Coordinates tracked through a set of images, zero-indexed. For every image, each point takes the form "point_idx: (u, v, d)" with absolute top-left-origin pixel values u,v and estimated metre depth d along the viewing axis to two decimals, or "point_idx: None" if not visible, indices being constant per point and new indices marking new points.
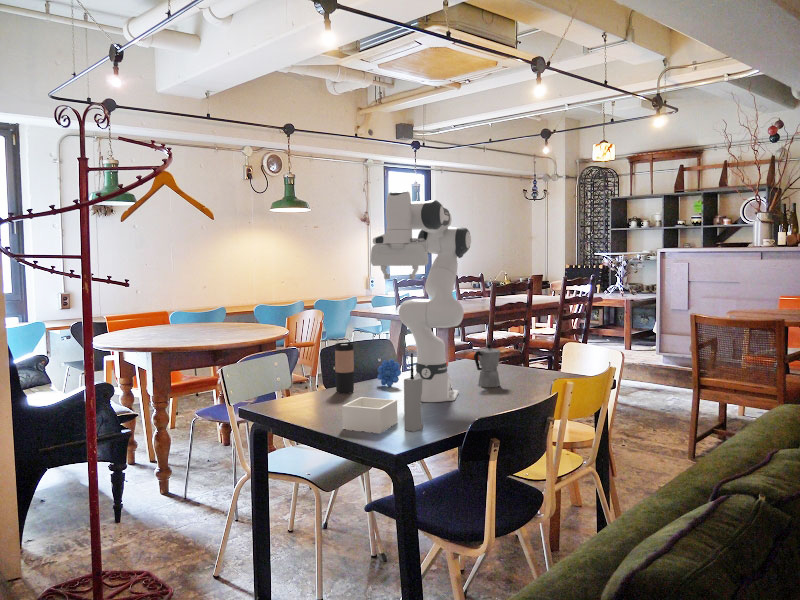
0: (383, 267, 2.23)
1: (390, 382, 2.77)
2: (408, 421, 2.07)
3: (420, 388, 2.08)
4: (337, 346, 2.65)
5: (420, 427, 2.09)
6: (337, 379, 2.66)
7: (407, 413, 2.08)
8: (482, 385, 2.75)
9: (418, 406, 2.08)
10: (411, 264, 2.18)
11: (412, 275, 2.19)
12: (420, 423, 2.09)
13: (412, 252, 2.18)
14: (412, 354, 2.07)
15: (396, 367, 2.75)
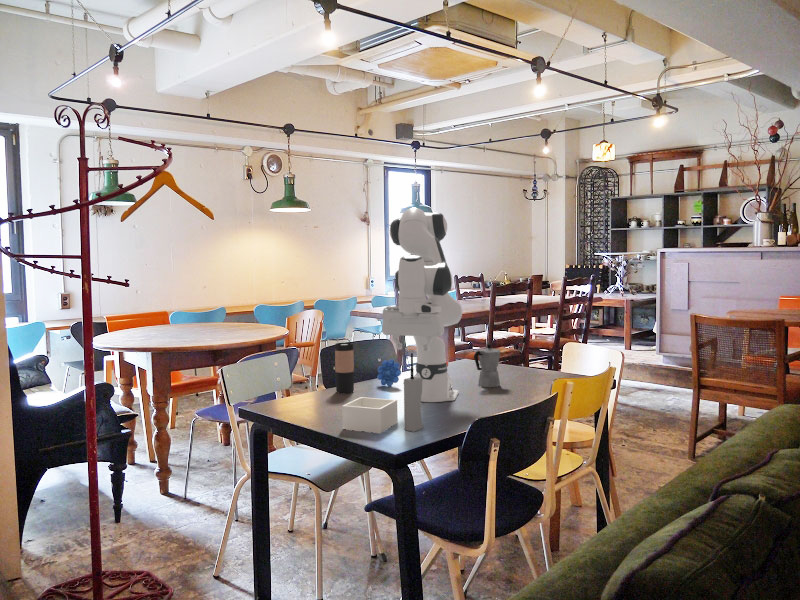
0: None
1: (390, 382, 2.77)
2: (408, 421, 2.07)
3: (420, 388, 2.08)
4: (337, 346, 2.65)
5: (420, 427, 2.09)
6: (337, 379, 2.66)
7: (407, 413, 2.08)
8: (482, 385, 2.75)
9: (418, 406, 2.08)
10: None
11: None
12: (420, 423, 2.09)
13: None
14: (412, 354, 2.07)
15: (396, 367, 2.75)
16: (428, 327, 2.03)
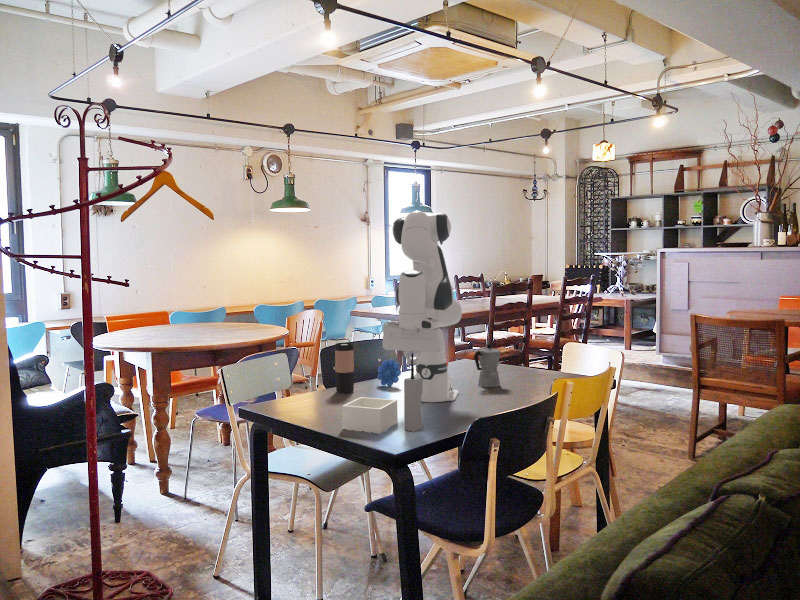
0: None
1: (390, 382, 2.77)
2: (408, 421, 2.07)
3: (420, 388, 2.08)
4: (337, 346, 2.65)
5: (420, 427, 2.09)
6: (337, 379, 2.66)
7: (407, 413, 2.08)
8: (482, 385, 2.75)
9: (418, 406, 2.08)
10: None
11: None
12: (420, 423, 2.09)
13: None
14: (412, 354, 2.07)
15: (396, 367, 2.75)
16: (429, 342, 2.03)
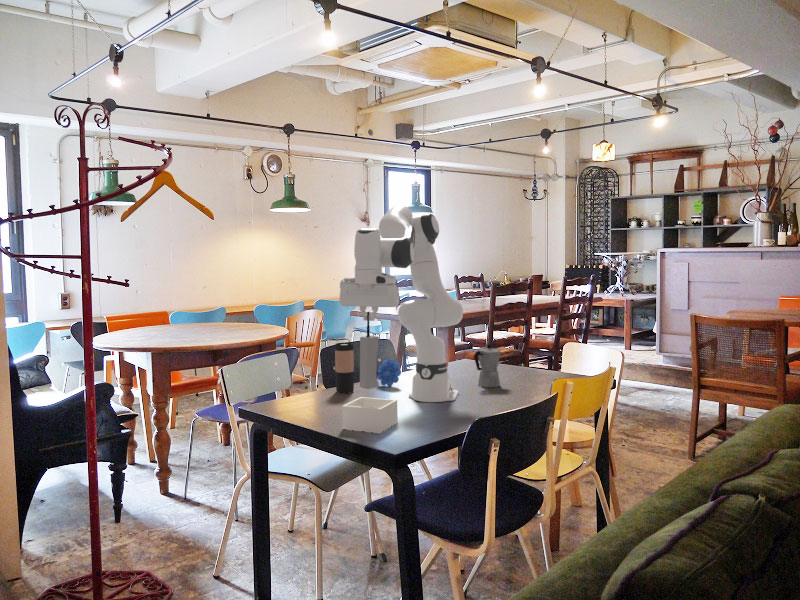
0: None
1: (390, 382, 2.77)
2: (363, 379, 2.11)
3: (375, 346, 2.12)
4: (337, 346, 2.65)
5: (375, 385, 2.12)
6: (337, 379, 2.66)
7: (362, 370, 2.11)
8: (482, 385, 2.75)
9: (373, 364, 2.11)
10: None
11: None
12: (375, 381, 2.12)
13: None
14: (368, 312, 2.11)
15: (396, 367, 2.75)
16: (383, 297, 2.07)
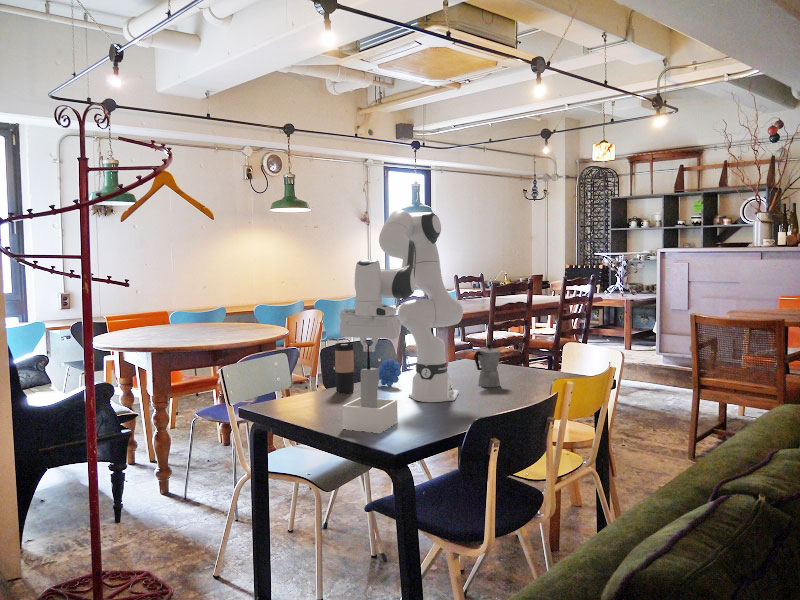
0: None
1: (390, 382, 2.77)
2: None
3: (376, 379, 2.12)
4: (337, 346, 2.65)
5: None
6: (337, 379, 2.66)
7: (363, 403, 2.12)
8: (482, 385, 2.75)
9: (374, 396, 2.12)
10: None
11: None
12: None
13: None
14: (368, 345, 2.12)
15: (396, 367, 2.75)
16: (383, 329, 2.08)
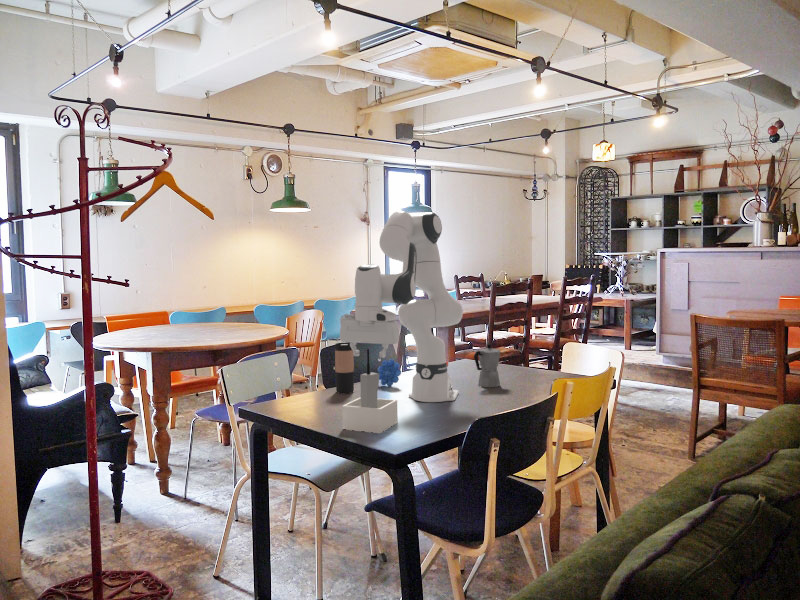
0: None
1: (390, 382, 2.77)
2: None
3: (376, 383, 2.12)
4: (337, 346, 2.64)
5: None
6: (337, 379, 2.66)
7: None
8: (482, 385, 2.75)
9: (374, 401, 2.12)
10: None
11: None
12: None
13: None
14: (368, 350, 2.12)
15: (396, 367, 2.75)
16: (384, 334, 2.08)
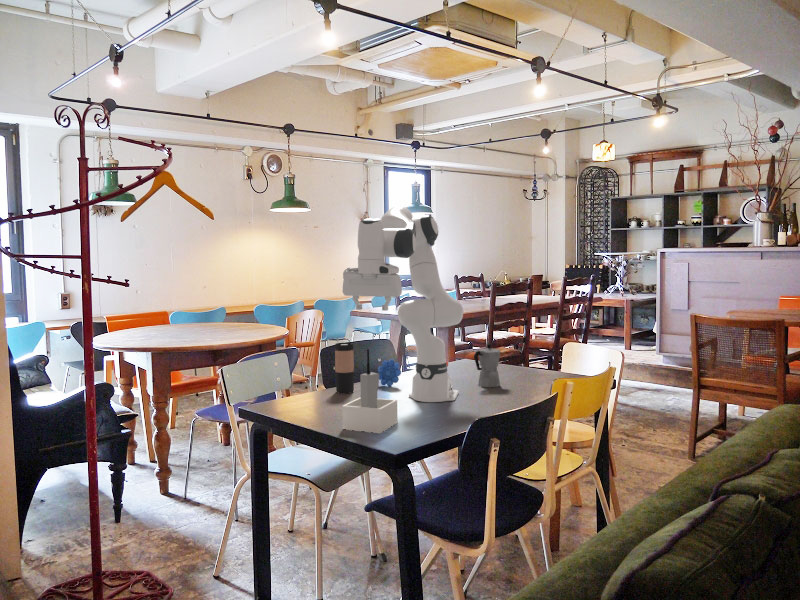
0: None
1: (390, 382, 2.77)
2: None
3: (376, 383, 2.12)
4: (337, 346, 2.65)
5: None
6: (337, 379, 2.66)
7: None
8: (482, 385, 2.75)
9: (374, 401, 2.12)
10: None
11: None
12: None
13: None
14: (368, 350, 2.12)
15: (396, 367, 2.75)
16: (386, 287, 2.10)
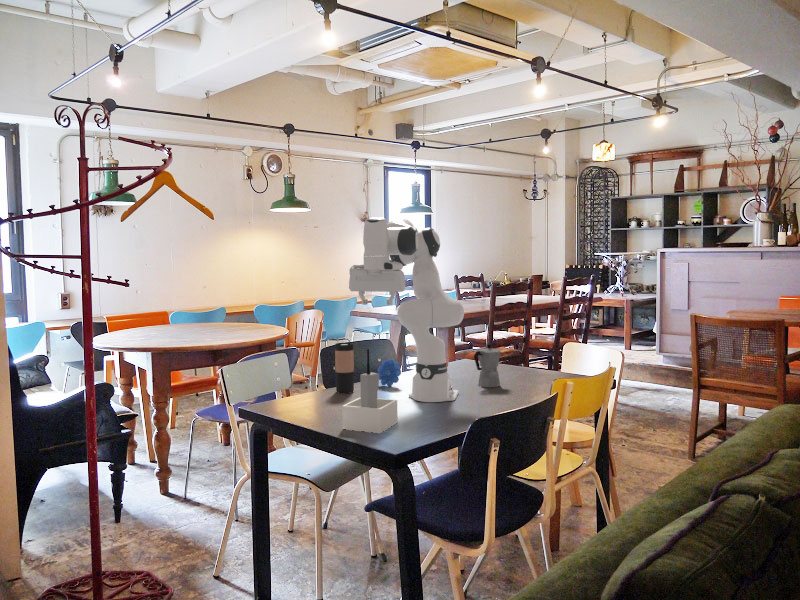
0: None
1: (390, 382, 2.77)
2: None
3: (376, 383, 2.12)
4: (337, 346, 2.65)
5: None
6: (337, 379, 2.66)
7: None
8: (482, 385, 2.75)
9: (374, 401, 2.12)
10: None
11: None
12: None
13: None
14: (368, 350, 2.12)
15: (396, 367, 2.75)
16: (391, 283, 2.20)
